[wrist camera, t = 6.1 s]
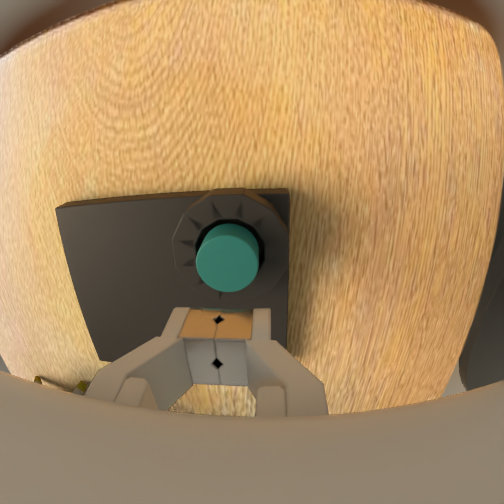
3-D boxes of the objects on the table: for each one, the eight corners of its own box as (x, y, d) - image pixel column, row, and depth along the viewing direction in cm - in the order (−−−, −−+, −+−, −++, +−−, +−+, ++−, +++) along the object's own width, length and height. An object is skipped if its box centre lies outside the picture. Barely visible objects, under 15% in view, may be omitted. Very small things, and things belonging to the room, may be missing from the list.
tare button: (258, 222, 15) (257, 234, 13) (259, 275, 16) (259, 292, 14) (200, 223, 15) (192, 236, 13) (205, 275, 16) (199, 292, 14)
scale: (287, 181, 17) (292, 193, 14) (284, 357, 21) (286, 387, 19) (65, 196, 17) (38, 210, 14) (106, 349, 22) (91, 374, 19)
